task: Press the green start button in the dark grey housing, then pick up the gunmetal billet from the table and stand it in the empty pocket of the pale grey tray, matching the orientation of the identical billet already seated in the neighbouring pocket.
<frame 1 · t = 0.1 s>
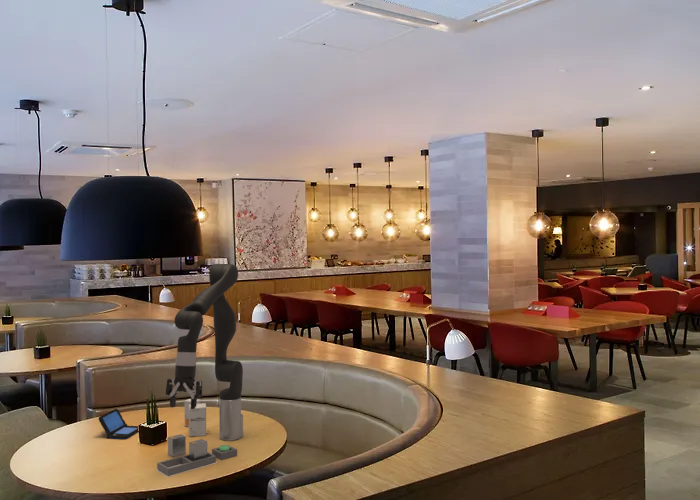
hand: (182, 408, 228), 22 cm above the table, tool pointing down, fingers open, 8 cm apart
pocket tray: (187, 468, 227), on the table
start button: (224, 449, 238), point 4 cm above the table, slide at 0.0 cm
handheld game console: (121, 434, 269), on the table
skincare box: (192, 426, 279), on the table
supplement box: (197, 434, 267), on the table
button housing: (224, 458, 238), on the table
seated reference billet: (198, 462, 230), resting on pocket tray
billet: (176, 457, 239), on the table
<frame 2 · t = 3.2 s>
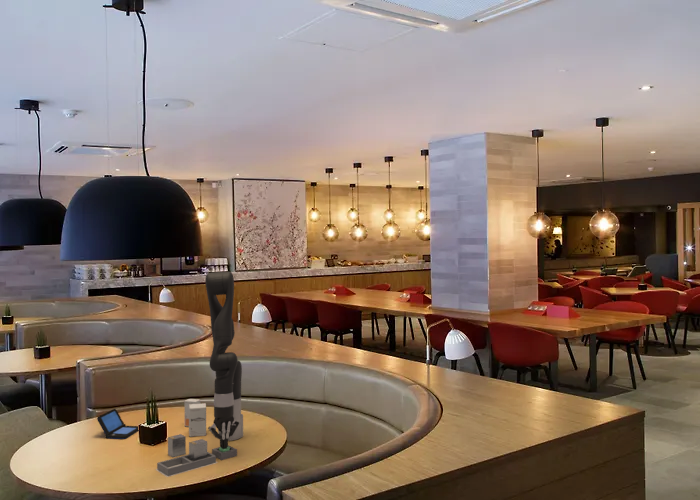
hand: (224, 448, 237), 4 cm above the table, tool pointing down, fingers closed
start button: (224, 450, 238), point 3 cm above the table, slide at 0.5 cm
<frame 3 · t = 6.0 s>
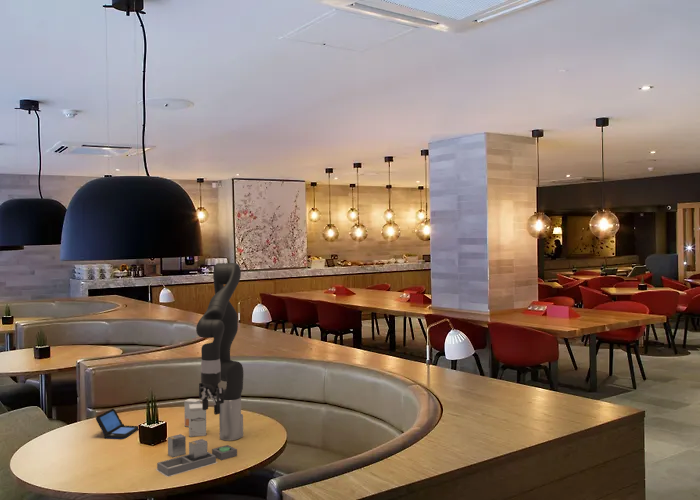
hand: (211, 411, 238), 18 cm above the table, tool pointing down, fingers open, 8 cm apart
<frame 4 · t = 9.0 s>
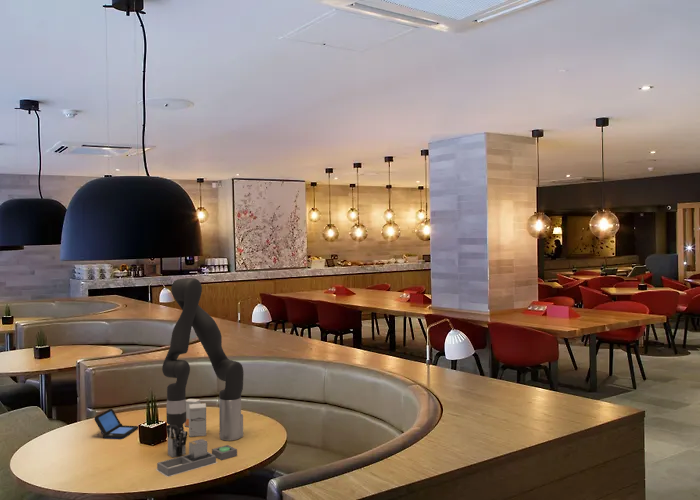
hand: (176, 453, 239), 1 cm above the table, tool pointing down, fingers closed on billet, 4 cm apart
billet: (176, 457, 239), on the table, touching gripper
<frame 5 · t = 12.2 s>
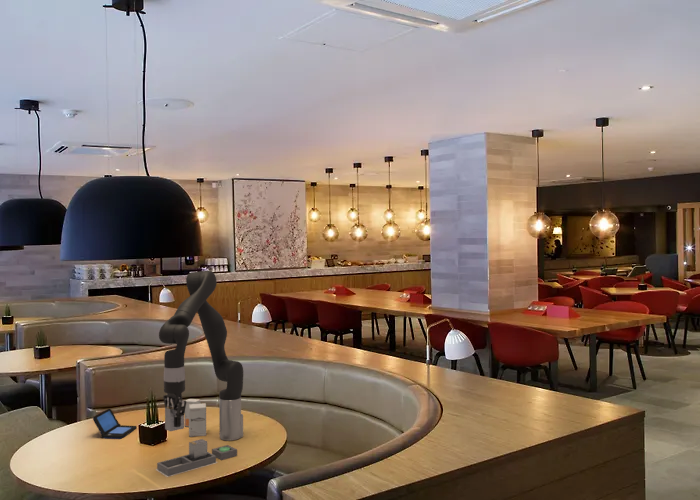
hand: (174, 425, 223), 17 cm above the table, tool pointing down, fingers closed on billet, 4 cm apart
billet: (174, 428, 223), point 16 cm above the table, touching gripper
when the fingers open (4 cm above the table, at t = 15.6 s): billet drops 2 cm, resting on pocket tray.
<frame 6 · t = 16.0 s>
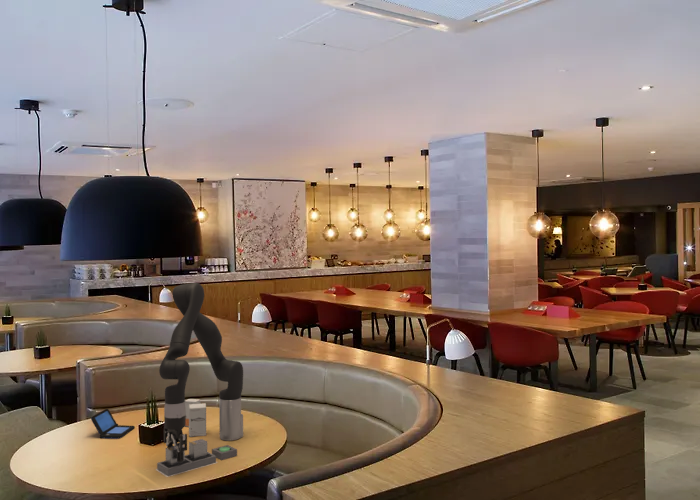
hand: (175, 458, 224), 5 cm above the table, tool pointing down, fingers open, 7 cm apart
billet: (175, 469, 224), point 1 cm above the table, touching pocket tray
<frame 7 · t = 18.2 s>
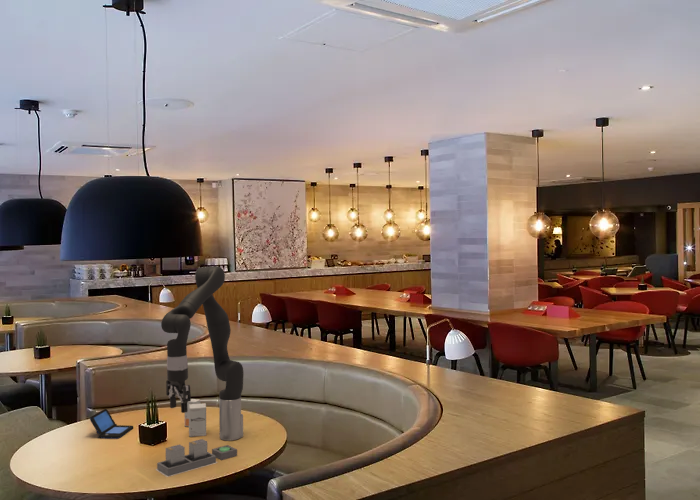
hand: (178, 409, 229), 21 cm above the table, tool pointing down, fingers open, 8 cm apart
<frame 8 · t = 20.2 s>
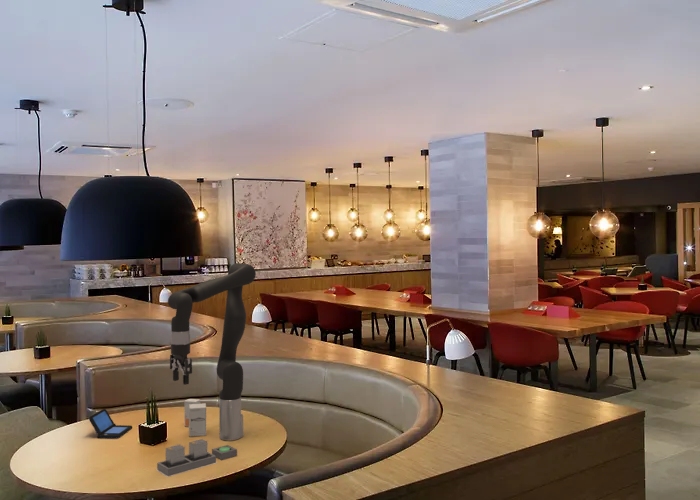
hand: (180, 382, 244), 28 cm above the table, tool pointing down, fingers open, 8 cm apart
at the end: start button slide at 0.8 cm; billet 0.1 cm from the target spot on the pocket tray, point 1.0 cm above the pocket tray's base; billet tilted 0° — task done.
